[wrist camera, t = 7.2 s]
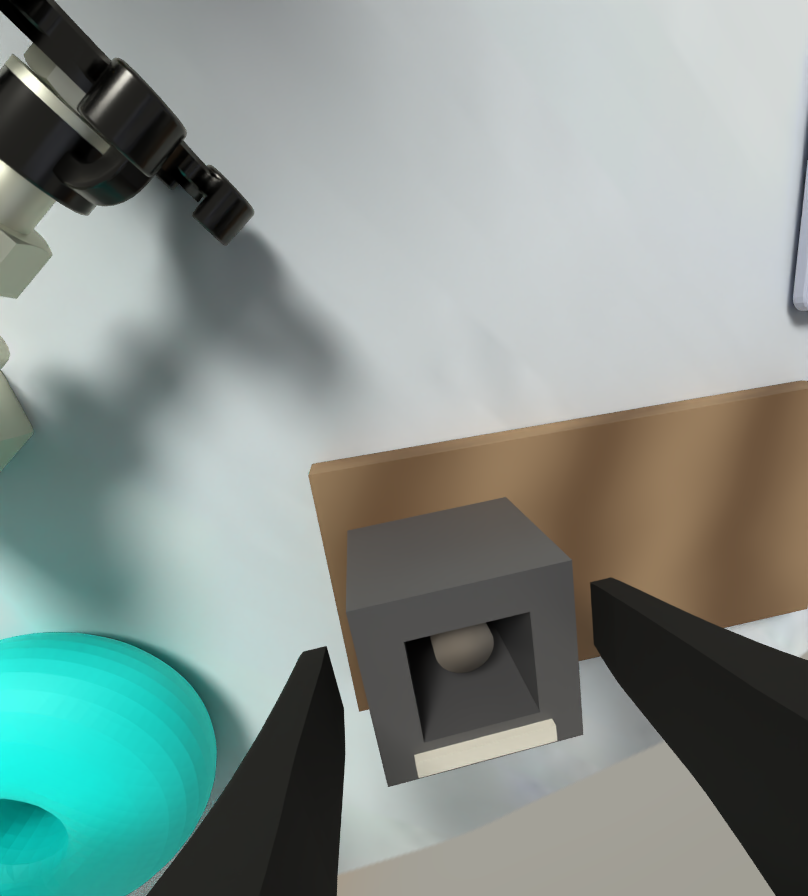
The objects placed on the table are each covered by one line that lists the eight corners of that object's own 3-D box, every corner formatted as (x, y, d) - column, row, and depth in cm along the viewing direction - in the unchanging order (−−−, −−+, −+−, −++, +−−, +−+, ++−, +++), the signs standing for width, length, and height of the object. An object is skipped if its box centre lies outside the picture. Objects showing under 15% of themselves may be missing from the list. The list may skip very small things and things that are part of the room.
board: (801, 380, 15) (973, 392, 11) (775, 591, 17) (909, 666, 13) (311, 463, 13) (294, 516, 9) (358, 684, 15) (361, 804, 11)
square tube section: (505, 496, 13) (576, 564, 9) (520, 630, 14) (587, 741, 10) (347, 530, 12) (345, 617, 8) (377, 664, 14) (388, 795, 10)
